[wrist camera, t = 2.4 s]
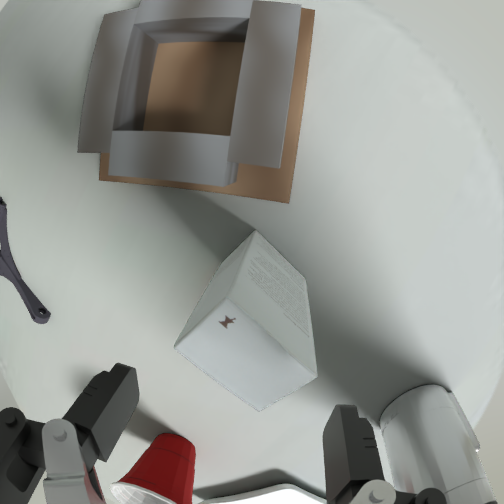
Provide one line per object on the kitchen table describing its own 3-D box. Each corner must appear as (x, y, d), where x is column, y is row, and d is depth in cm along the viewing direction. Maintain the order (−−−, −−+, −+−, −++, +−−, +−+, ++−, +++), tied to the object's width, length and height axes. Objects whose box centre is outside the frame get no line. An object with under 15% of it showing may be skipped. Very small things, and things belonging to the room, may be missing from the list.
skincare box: (220, 263, 24) (167, 346, 13) (255, 228, 23) (226, 292, 12) (271, 311, 25) (258, 415, 14) (308, 279, 24) (322, 376, 13)
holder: (313, 16, 17) (320, -19, 12) (288, 201, 22) (289, 214, 17) (134, 16, 18) (103, -8, 13) (106, 179, 23) (66, 186, 18)
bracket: (41, 342, 32) (30, 352, 29) (-15, 270, 30) (-27, 276, 28) (70, 279, 28) (55, 288, 25) (5, 195, 26) (-11, 199, 23)
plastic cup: (180, 414, 31) (148, 492, 20) (227, 459, 33) (211, 529, 22) (125, 424, 34) (91, 484, 22) (171, 465, 36) (149, 523, 24)
